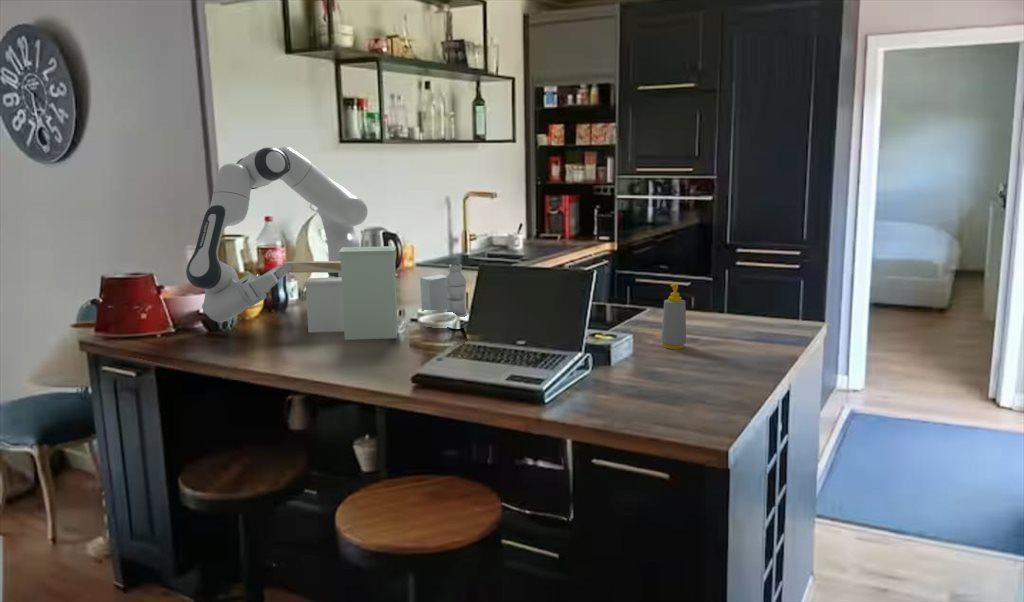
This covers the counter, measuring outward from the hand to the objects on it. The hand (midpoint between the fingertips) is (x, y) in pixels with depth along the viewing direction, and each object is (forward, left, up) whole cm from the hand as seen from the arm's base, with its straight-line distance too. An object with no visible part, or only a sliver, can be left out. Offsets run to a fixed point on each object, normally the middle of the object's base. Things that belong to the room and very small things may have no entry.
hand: (292, 265), depth 244 cm
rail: (0, +9, -2) cm, 9 cm away
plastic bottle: (+7, +49, -20) cm, 54 cm away
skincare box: (-4, +43, -20) cm, 48 cm away
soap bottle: (+37, +108, -20) cm, 116 cm away
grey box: (0, +10, -20) cm, 23 cm away
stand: (+11, +24, -20) cm, 33 cm away
